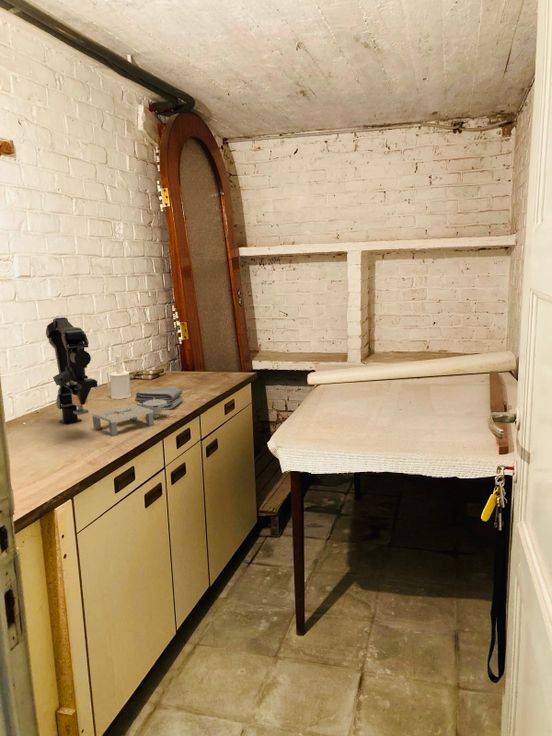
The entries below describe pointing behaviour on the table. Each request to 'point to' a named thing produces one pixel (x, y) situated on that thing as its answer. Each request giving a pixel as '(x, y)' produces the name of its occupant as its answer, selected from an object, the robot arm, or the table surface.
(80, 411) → the peg
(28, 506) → the table surface
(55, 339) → the robot arm
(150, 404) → the showerhead
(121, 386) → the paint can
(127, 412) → the keyhole stand
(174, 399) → the towel
